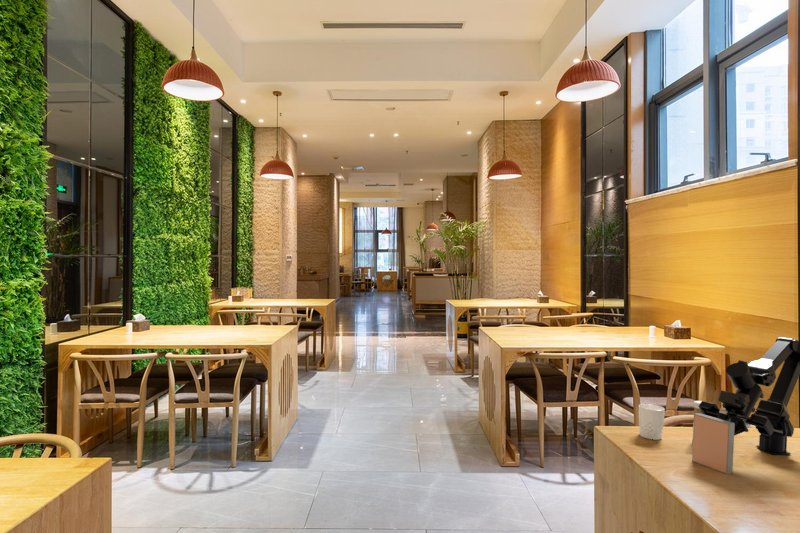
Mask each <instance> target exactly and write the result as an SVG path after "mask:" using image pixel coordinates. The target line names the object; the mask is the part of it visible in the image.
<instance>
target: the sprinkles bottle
mask: <svg viewBox="0 0 800 533" xmlns="http://www.w3.org/2000/svg"><path fill="white" fill-rule="evenodd" d="M702 401H703V400H694V401H693V408H694V409H693V415H694V414H696V413H701V414H703V413H702V411H701V410H700V408H699V407H698V406H699V404H700V403H701V402H702ZM692 424H693V425H692V433H693V432H694V421H693V422H692ZM691 441H692V442H693V438H692V440H691Z"/></svg>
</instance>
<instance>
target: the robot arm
mask: <svg viewBox="0 0 800 533" xmlns="http://www.w3.org/2000/svg"><path fill="white" fill-rule="evenodd" d="M781 365H782V366H781ZM780 366H781V369H780V371H779V374H778V376H777V375H776V371H777V369H778V368H780ZM725 368H726V369H725V372H726V374H727V376H728V378H729V380H730V382H731V384H732V386H733V387H734V388H736V391H735V392H730V391H727V390H722V389H721V390H720V392H719V394H718V395H719V396H718V398H717V401H718V402H721V403H722V405H721V406H722V407H723V408H721V407H718V406H717V403H715V402H711V401H708V400H701V401H702V402H701V403H700V404H699V406H698V407H699V408H700V410H701V411H702V413H703V414H704V415H708V416H712V417H715V418H719V419H722V420H726V421H729V422H733V423H735V429H734V437H735V436H737V435H740V434H742V433H744V432H745V433H748V432H749V427H750V426H755V429H757V431H758V433H759V439H758V440H759V442H758V443H759V444H758V445H756V447H755V448H757V449H760V450H762V451H763V452H765V453H768V454H769V455H782V456H783V455H786V456H787V455H789V456H790V455H791V454H792V453H791V452H789V451H788V450H787V446H788V437H789V438H790V437H791V438H792V437H793V435H794V430H795V429H794V426H793V424H792V422H791V420H790V412H789V410H788V404H789V402H790V400H791V397H792V395H793V392H794V389H795V387H796V385H797V382H798V379H799V377H800V341H799V340H798V339H795V338H792V337H784V336H780V337H777V338H776V339H775V342H774V344H772V346H771V347H770V348H769V349H768V350H767V351H766V352H765V353H764V354H763V355H762V356H761V358H760V359H756V360H753V361H750V362H749V363H748V362H747V361H746V360H738V362H733V363H732V364H730V365H727V367H725ZM776 378H777V379H776ZM775 380H776V381H775ZM774 382H775V383H774ZM772 384H774V387H773V388H772V391H771V393H770V396H769V398H768V399H763V398H765V396H764V392H763V389H762V388H761V386H764V387H771V385H772ZM759 399H760V400H759ZM758 400H759V402H758ZM757 402H758V406H757V407H756V404H757ZM755 407H756V408H755Z"/></svg>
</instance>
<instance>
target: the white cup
mask: <svg viewBox="0 0 800 533" xmlns="http://www.w3.org/2000/svg"><path fill="white" fill-rule="evenodd" d="M665 412H666V408H665V407H663V406H661V405H655V404H650V403H641V404H638V428H639V430H638V432H639V436H640V437H641V438H645V439H646V440H647V439H648V440H652V439H653V440H654V441H658V440H661V439H663V430H664V424H665Z"/></svg>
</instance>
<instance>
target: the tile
mask: <svg viewBox="0 0 800 533" xmlns="http://www.w3.org/2000/svg"><path fill="white" fill-rule="evenodd" d="M693 422H694V432H693V431H692V439H693V441H692V453H691V454H692V455H691V458H692V459H691V461H692V462H694V463H695V464H699V465H701V466H704V467H707V468H710V469H713V470H715V471H718V472H721V473H724V474H726V475H729V474H732V473H733V471H734V470H733V468H734V466H733V465H734V451H735V450H734V448H735V447H734V445H735V436H734V429H735V423H733V422H729V421H726V420H722V419H719V418H715V417H712V416H708V415H704V414H701V413H696V414H694V413H693Z"/></svg>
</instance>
